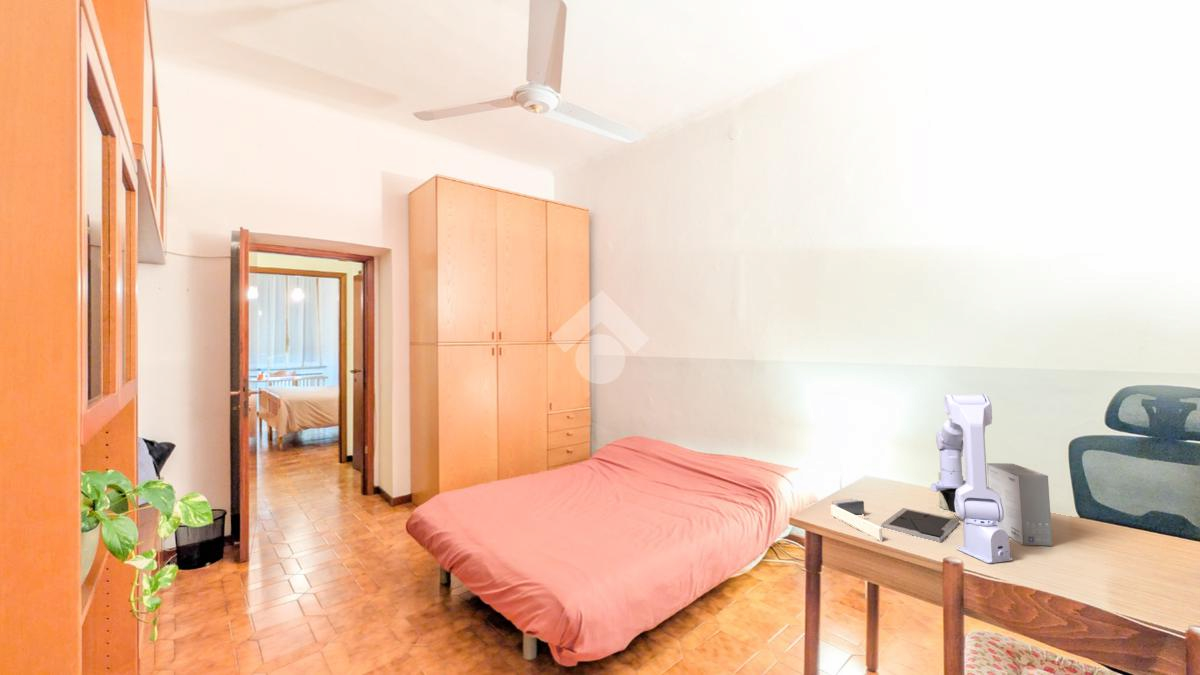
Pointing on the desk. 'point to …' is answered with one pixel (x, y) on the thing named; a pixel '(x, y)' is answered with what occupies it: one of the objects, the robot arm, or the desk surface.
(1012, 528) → the hard drive box
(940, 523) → the picture frame
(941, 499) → the skincare box
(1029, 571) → the desk surface
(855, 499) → the orange and blue block
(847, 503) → the bookend
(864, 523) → the shelf wall
